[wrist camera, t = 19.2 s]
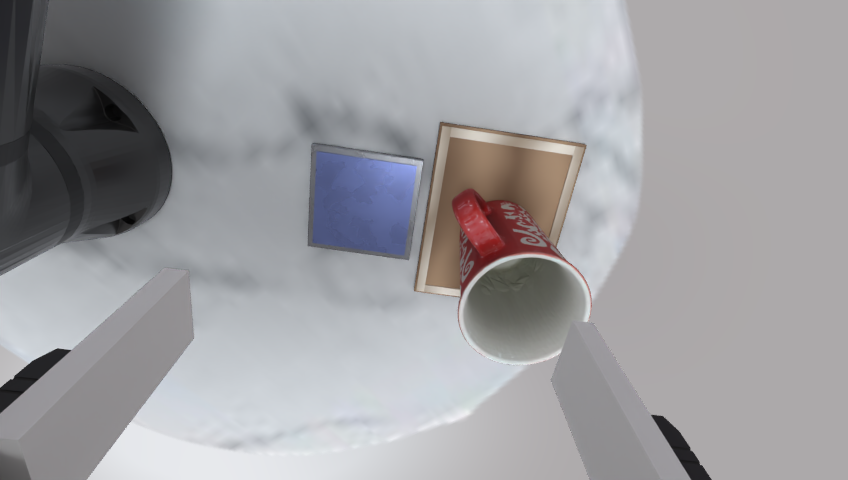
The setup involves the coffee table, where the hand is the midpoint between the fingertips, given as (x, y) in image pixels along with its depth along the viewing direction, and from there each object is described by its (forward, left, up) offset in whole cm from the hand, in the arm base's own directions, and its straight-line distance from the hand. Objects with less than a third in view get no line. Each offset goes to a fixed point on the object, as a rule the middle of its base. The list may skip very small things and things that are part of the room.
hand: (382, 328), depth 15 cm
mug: (+8, -5, -26) cm, 28 cm away
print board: (+8, -5, -26) cm, 28 cm away
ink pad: (-4, -5, -26) cm, 27 cm away
